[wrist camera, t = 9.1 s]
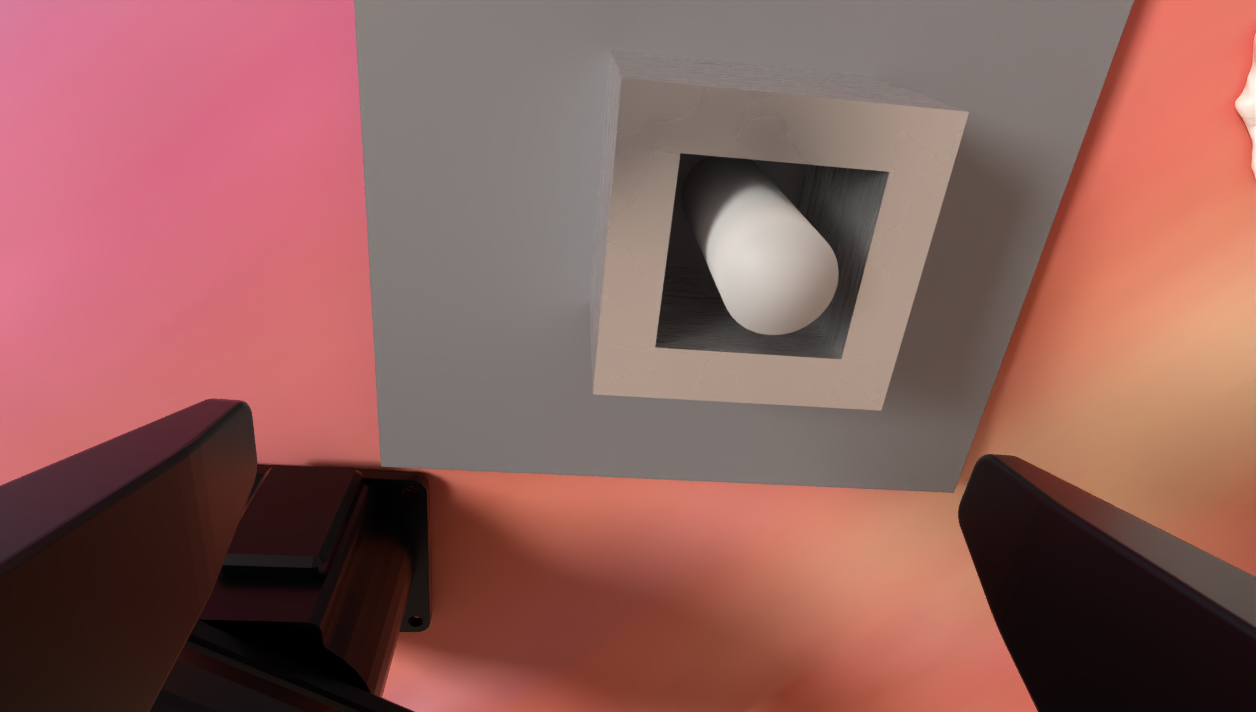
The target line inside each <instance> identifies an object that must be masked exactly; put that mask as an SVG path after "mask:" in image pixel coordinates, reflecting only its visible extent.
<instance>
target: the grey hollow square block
mask: <svg viewBox="0 0 1256 712" xmlns="http://www.w3.org/2000/svg"><path fill="white" fill-rule="evenodd" d="M968 114H969V112H968V111H965V110H962V109H960V108H957V107H954V106H952V105H949V104H946V103H944V102H941V101H938V100H936V99H933V98H930V97H927V96H925V95H922V94H919V93H917V92H914V91H911V90H909V89H906V88H903V87H901V86H898V85H895V84H892V83H890V82H887V81H884V80H882V79H879V78H876V77H873V76H863V75H854V74H844V73H834V72H824V71H814V70H805V69H795V68H785V67H775V66H765V65H755V64H746V63H736V62H726V61H716V60H706V59H697V58H687V57H677V56H667V55H657V54H648V53H638V52H628V51H618V50H610V59H609V71H608V83H607V95H606V107H605V119H604V131H603V143H602V155H601V167H600V179H599V191H598V203H597V215H596V227H595V239H594V251H593V263H592V275H591V287H590V299H589V307H590V333H591V360H592V386H593V394H595V395H613V396H631V397H648V398H666V399H684V400H702V401H719V402H737V403H755V404H773V405H791V406H808V407H826V408H844V409H862V410H879V411H881V410H882V407H883V403H884V400H885V397H886V393H887V390H888V386H889V383H890V380H891V376H892V373H893V369H894V366H895V362H896V359H897V356H898V352H899V349H900V345H901V342H902V339H903V335H904V332H905V328H906V325H907V322H908V318H909V315H910V311H911V308H912V305H913V301H914V298H915V294H916V291H917V288H918V284H919V281H920V277H921V274H922V271H923V267H924V264H925V260H926V257H927V254H928V250H929V247H930V243H931V240H932V237H933V233H934V230H935V226H936V223H937V220H938V216H939V213H940V209H941V206H942V203H943V199H944V196H945V192H946V189H947V186H948V182H949V179H950V175H951V172H952V169H953V165H954V162H955V158H956V155H957V152H958V148H959V145H960V141H961V138H962V135H963V131H964V128H965V124H966V121H967V118H968ZM680 153H685V154H696V155H707V156H718V157H730V158H741V159H752V160H763V161H775V162H786V163H797V164H807V165H806V170H805V175H804V180H803V185H802V189H801V194H800V199H799V204H798V209H797V210H798V211H799V212H800V213H801V214H802V215H803V216H804V217H805V218H806V219H807V221H808V222H809V223H810V224H811V225H812V226H813V227H814V228H815V229H816V230H817V232H818V233H819V234H820V235H821V236H822V237H823V238H824V239H825V240H826V242H827V243H828V244H829V245H830V247H831V248H832V250H833V252H834V254H835V256H836V260H837V263H838V271H839V273H838V284H837V288H836V291H835V294H834V296H833V298H832V300H831V302H830V304H829V305H828V307H827V308H826V309H825V311H824V312H823V313H822V314H821V315H820V316H819V317H818V318H817V319H815V320H814V321H813V322H812V323H810V324H809V325H807V326H805V327H803V328H801V329H799V330H797V331H794V332H791V333H787V334H781V335H765V334H760V333H756V332H753V331H751V330H748V329H746V328H745V327H743V326H742V325H740V324H739V323H738V322H737V321H736V320H735V319H734V318H733V317H732V316H731V315H730V313H729V312H728V310H727V308H726V306H725V304H724V302H723V299H722V297H721V295H720V293H719V290H718V288H717V286H716V283H715V281H714V279H713V277H712V274H711V272H710V270H709V269H707V268H693V267H680V266H666V260H667V252H668V245H669V237H670V229H671V222H672V214H673V206H674V199H675V191H676V183H677V176H678V168H679V160H680Z"/></svg>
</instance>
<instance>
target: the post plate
mask: <svg viewBox="0 0 1256 712" xmlns="http://www.w3.org/2000/svg"><path fill="white" fill-rule="evenodd" d="M1133 2H1134V0H354V6H355V23H356V41H357V58H358V75H359V93H360V110H361V127H362V144H363V162H364V179H365V196H366V213H367V231H368V248H369V265H370V282H371V300H372V317H373V334H374V352H375V369H376V386H377V403H378V421H379V438H380V455H381V467H403V468H424V469H446V470H468V471H490V472H512V473H534V474H556V475H578V476H599V477H621V478H643V479H665V480H687V481H709V482H731V483H753V484H774V485H796V486H818V487H840V488H862V489H884V490H906V491H928V492H949V493H954V491H955V489H956V486H957V483H958V480H959V478H960V475H961V472H962V469H963V467H964V464H965V461H966V459H967V456H968V453H969V450H970V448H971V445H972V442H973V439H974V437H975V434H976V431H977V428H978V426H979V423H980V420H981V418H982V415H983V412H984V409H985V407H986V404H987V401H988V398H989V396H990V393H991V390H992V388H993V385H994V382H995V379H996V377H997V374H998V371H999V368H1000V366H1001V363H1002V360H1003V357H1004V355H1005V352H1006V349H1007V347H1008V344H1009V341H1010V338H1011V336H1012V333H1013V330H1014V327H1015V325H1016V322H1017V319H1018V317H1019V314H1020V311H1021V308H1022V306H1023V303H1024V300H1025V297H1026V295H1027V292H1028V289H1029V286H1030V284H1031V281H1032V278H1033V276H1034V273H1035V270H1036V267H1037V265H1038V262H1039V259H1040V256H1041V254H1042V251H1043V248H1044V246H1045V243H1046V240H1047V237H1048V235H1049V232H1050V229H1051V226H1052V224H1053V221H1054V218H1055V215H1056V213H1057V210H1058V207H1059V205H1060V202H1061V199H1062V196H1063V194H1064V191H1065V188H1066V185H1067V183H1068V180H1069V177H1070V175H1071V172H1072V169H1073V166H1074V164H1075V161H1076V158H1077V155H1078V153H1079V150H1080V147H1081V144H1082V142H1083V139H1084V136H1085V134H1086V131H1087V128H1088V125H1089V123H1090V120H1091V117H1092V114H1093V112H1094V109H1095V106H1096V104H1097V101H1098V98H1099V95H1100V93H1101V90H1102V87H1103V84H1104V82H1105V79H1106V76H1107V73H1108V71H1109V68H1110V65H1111V63H1112V60H1113V57H1114V54H1115V52H1116V49H1117V46H1118V43H1119V41H1120V38H1121V35H1122V32H1123V30H1124V27H1125V24H1126V22H1127V19H1128V16H1129V13H1130V11H1131V8H1132V5H1133ZM610 50H618V51H628V52H638V53H648V54H657V55H667V56H677V57H687V58H697V59H706V60H716V61H726V62H736V63H746V64H755V65H765V66H775V67H785V68H795V69H805V70H814V71H824V72H834V73H844V74H854V75H863V76H873V77H876V78H879V79H882V80H884V81H887V82H890V83H892V84H895V85H898V86H901V87H903V88H906V89H909V90H911V91H914V92H917V93H919V94H922V95H925V96H927V97H930V98H933V99H936V100H938V101H941V102H944V103H946V104H949V105H952V106H954V107H957V108H960V109H962V110H965V111H968V112H969V114H968V118H967V121H966V124H965V128H964V131H963V135H962V138H961V141H960V145H959V148H958V152H957V155H956V158H955V162H954V165H953V169H952V172H951V175H950V179H949V182H948V186H947V189H946V192H945V196H944V199H943V203H942V206H941V209H940V213H939V216H938V220H937V223H936V226H935V230H934V233H933V237H932V240H931V243H930V247H929V250H928V254H927V257H926V260H925V264H924V267H923V271H922V274H921V277H920V281H919V284H918V288H917V291H916V294H915V298H914V301H913V305H912V308H911V311H910V315H909V318H908V322H907V325H906V328H905V332H904V335H903V339H902V342H901V345H900V349H899V352H898V356H897V359H896V362H895V366H894V369H893V373H892V376H891V380H890V383H889V386H888V390H887V393H886V397H885V400H884V403H883V407H882V410H881V411H879V410H862V409H844V408H826V407H808V406H791V405H773V404H755V403H737V402H719V401H702V400H684V399H666V398H648V397H631V396H613V395H595V394H593V386H592V360H591V333H590V307H589V299H590V287H591V275H592V263H593V251H594V239H595V227H596V215H597V203H598V191H599V179H600V167H601V155H602V143H603V131H604V119H605V107H606V95H607V83H608V71H609V59H610ZM806 165H807V164H797V163H786V162H775V161H763V160H752V159H741V158H730V157H718V156H707V155H696V154H685V153H680V160H679V168H678V176H677V183H676V191H675V199H674V206H673V214H672V222H671V229H670V237H669V245H668V252H667V260H666V266H680V267H693V268H707V269H709V270H710V272H711V274H712V277H713V279H714V281H715V283H716V286H717V288H718V290H719V293H720V295H721V297H722V299H723V302H724V304H725V306H726V308H727V310H728V312H729V313H730V315H731V316H732V317H733V318H734V319H735V320H736V321H737V322H738V323H739V324H740V325H742V326H743V327H745V328H746V329H748V330H751V331H753V332H756V333H760V334H765V335H781V334H787V333H791V332H794V331H797V330H799V329H801V328H803V327H805V326H807V325H809V324H810V323H812V322H813V321H814V320H815V319H817V318H818V317H819V316H820V315H821V314H822V313H823V312H824V311H825V309H826V308H827V307H828V305H829V304H830V302H831V300H832V298H833V296H834V294H835V291H836V288H837V284H838V273H839V271H838V263H837V260H836V256H835V254H834V252H833V250H832V248H831V247H830V245H829V244H828V243H827V242H826V240H825V239H824V238H823V237H822V236H821V235H820V234H819V233H818V232H817V230H816V229H815V228H814V227H813V226H812V225H811V224H810V223H809V222H808V221H807V219H806V218H805V217H804V216H803V215H802V214H801V213H800V212H799V211H798V210H797V209H798V204H799V199H800V194H801V189H802V185H803V180H804V175H805V170H806Z"/></svg>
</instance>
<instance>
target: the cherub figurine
mask: <svg viewBox="0 0 1256 712" xmlns="http://www.w3.org/2000/svg"><path fill="white" fill-rule="evenodd" d="M1252 62H1253V63H1252V67H1251V70H1250V73H1249V75H1248V78H1247V82H1246V85H1245V88H1244V90H1243V92H1242V94H1241V95H1240V97H1239V98H1238V99H1237V100H1236V101H1235V109H1236V110H1237V112H1238V113H1239V115H1240V116H1241V117H1242V119H1243V121H1244V123H1245V125H1246V127H1247V130H1248V132H1249V135H1250V137H1251V139H1252V145H1253V149H1252V166H1251V167H1252V170H1253V173H1254V176H1255V179H1256V33H1255V36H1254V40H1253V59H1252Z"/></svg>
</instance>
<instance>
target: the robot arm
mask: <svg viewBox="0 0 1256 712" xmlns="http://www.w3.org/2000/svg"><path fill="white" fill-rule="evenodd" d="M409 486H411V487H415V488H416V489H417V490H418V491H415V492H412V491H409V490H408V489H406V487H409ZM958 518H959V524H960V527H961V530H962V533H963V535H964V538H965V541H966V544H967V546H968V549H969V552H970V555H971V557H972V560H973V563H974V566H975V568H976V571H977V574H978V576H979V579H980V582H981V585H982V587H983V590H984V593H985V596H986V598H987V601H988V604H989V607H990V609H991V612H992V614H993V617H994V619H995V622H996V625H997V627H998V629H999V632H1000V634H1001V636H1002V638H1003V640H1004V643H1005V645H1006V647H1007V649H1008V651H1009V653H1010V655H1011V657H1012V659H1013V661H1014V663H1015V665H1016V667H1017V669H1018V672H1019V674H1020V676H1021V678H1022V680H1023V682H1024V684H1025V686H1026V688H1027V690H1028V692H1029V694H1030V696H1031V698H1032V700H1033V702H1034V705H1035V707H1036V709H1037V711H1038V712H1256V577H1255V576H1253V575H1251V574H1249V573H1247V572H1245V571H1243V570H1241V569H1239V568H1237V567H1235V566H1233V565H1231V564H1229V563H1227V562H1225V561H1223V560H1221V559H1219V558H1217V557H1215V556H1213V555H1211V554H1209V553H1207V552H1205V551H1203V550H1201V549H1199V548H1197V547H1195V546H1193V545H1191V544H1189V543H1187V542H1185V541H1183V540H1181V539H1179V538H1177V537H1175V536H1173V535H1171V534H1169V533H1167V532H1165V531H1163V530H1161V529H1159V528H1157V527H1155V526H1153V525H1151V524H1149V523H1147V522H1145V521H1143V520H1141V519H1140V518H1138V517H1136V516H1134V515H1132V514H1130V513H1128V512H1126V511H1124V510H1122V509H1120V508H1118V507H1116V506H1114V505H1112V504H1110V503H1108V502H1106V501H1104V500H1102V499H1100V498H1098V497H1096V496H1094V495H1092V494H1090V493H1088V492H1086V491H1084V490H1082V489H1080V488H1078V487H1076V486H1074V485H1072V484H1070V483H1068V482H1066V481H1064V480H1062V479H1060V478H1058V477H1056V476H1054V475H1052V474H1050V473H1048V472H1046V471H1044V470H1042V469H1040V468H1038V467H1036V466H1034V465H1032V464H1030V463H1028V462H1026V461H1024V460H1022V459H1020V458H1018V457H1015V456H1009V455H994V454H987V455H984V456H982V457H981V458H980V459H979V460H978V461H977V462H976V464H975V467H974V469H973V472H972V474H971V477H970V479H969V482H968V484H967V487H966V489H965V492H964V494H963V497H962V499H961V502H960V505H959V511H958ZM413 616H418V617H420V618H415V617H413ZM431 616H432V583H431V540H430V497H429V483H428V480H427V479H426V478H425V477H424V476H422V475H421V474H419V473H414V472H395V471H373V470H355V469H346V468H324V467H302V466H280V465H275V466H263V465H257V454H256V445H255V436H254V427H253V418H252V412H251V409H250V407H249V405H248V404H247V403H246V402H244V401H240V400H227V399H207V400H204V401H202V402H200V403H197V404H195V405H192V406H190V407H188V408H185V409H183V410H180V411H178V412H176V413H173V414H171V415H169V416H166V417H164V418H161V419H159V420H157V421H154V422H152V423H149V424H147V425H145V426H142V427H140V428H137V429H135V430H133V431H130V432H128V433H125V434H123V435H121V436H118V437H116V438H113V439H111V440H109V441H106V442H104V443H101V444H99V445H97V446H94V447H92V448H89V449H87V450H85V451H82V452H80V453H77V454H75V455H73V456H70V457H68V458H65V459H63V460H61V461H58V462H56V463H54V464H51V465H49V466H46V467H44V468H42V469H39V470H37V471H34V472H32V473H30V474H27V475H25V476H22V477H20V478H18V479H15V480H13V481H10V482H8V483H6V484H3V485H1V486H0V712H414V711H412V710H410V709H407V708H405V707H403V706H400V705H398V704H395V703H393V702H391V701H388V700H386V699H384V698H382V695H383V692H384V688H385V684H386V680H387V677H388V673H389V669H390V665H391V662H392V658H393V654H394V650H395V647H396V643H397V639H398V635H399V632H420V631H423V630H425V629H427V628H428V627H429V625H430V621H431Z"/></svg>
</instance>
